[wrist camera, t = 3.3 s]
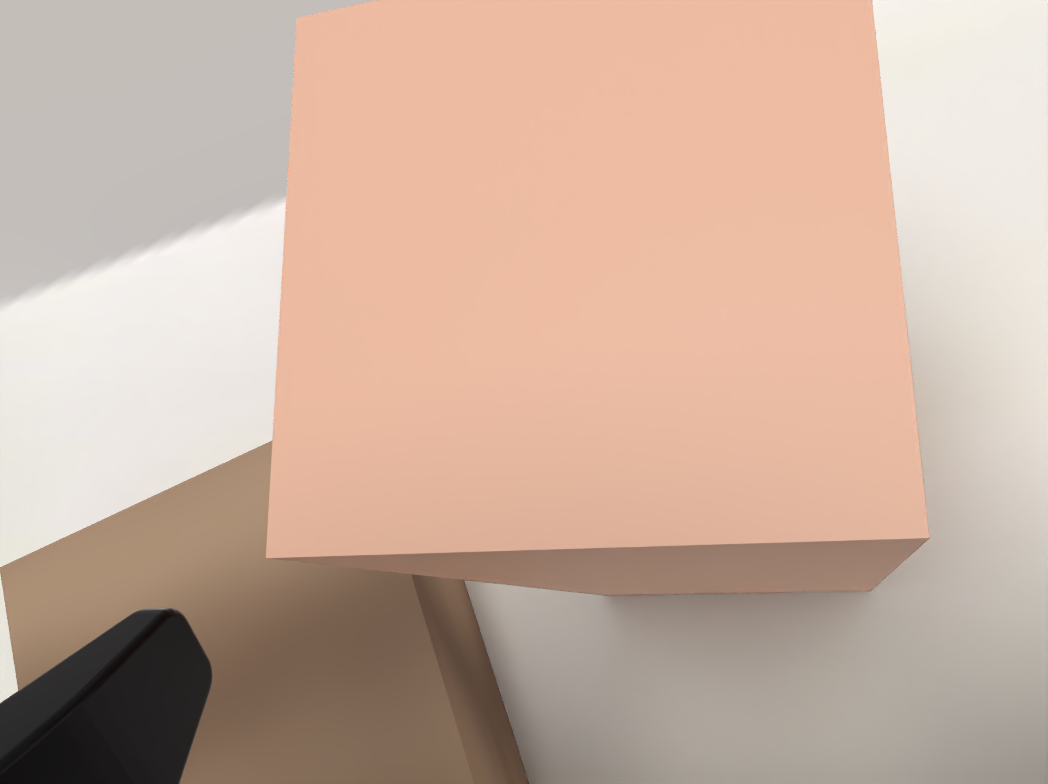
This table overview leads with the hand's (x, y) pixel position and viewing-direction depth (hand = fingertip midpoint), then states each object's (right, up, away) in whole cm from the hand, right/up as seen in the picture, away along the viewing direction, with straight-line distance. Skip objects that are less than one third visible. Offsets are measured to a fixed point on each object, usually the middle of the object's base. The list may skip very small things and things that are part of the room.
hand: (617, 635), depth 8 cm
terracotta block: (+3, +1, +10) cm, 11 cm away
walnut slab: (-6, -4, +12) cm, 14 cm away
